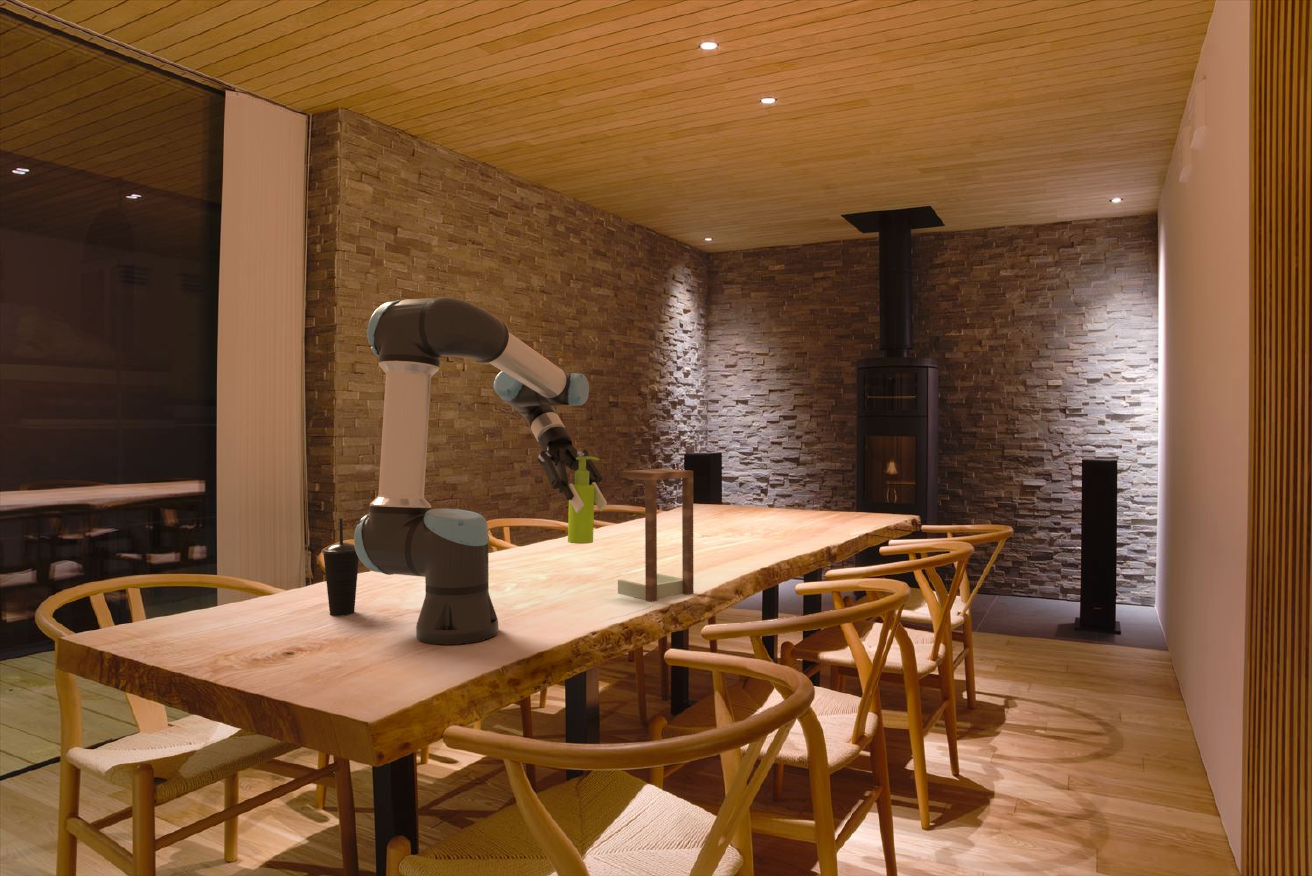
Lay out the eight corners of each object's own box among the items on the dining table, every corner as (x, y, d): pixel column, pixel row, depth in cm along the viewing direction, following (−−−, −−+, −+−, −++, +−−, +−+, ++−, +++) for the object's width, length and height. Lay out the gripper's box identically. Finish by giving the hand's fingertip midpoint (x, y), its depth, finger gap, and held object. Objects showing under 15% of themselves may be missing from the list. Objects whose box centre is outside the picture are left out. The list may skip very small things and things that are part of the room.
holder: (646, 600, 189) (646, 586, 189) (617, 593, 197) (617, 580, 197) (687, 592, 197) (687, 579, 197) (658, 585, 205) (658, 573, 205)
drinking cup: (348, 618, 173) (347, 521, 172) (315, 616, 175) (313, 520, 174) (368, 609, 181) (367, 516, 180) (336, 608, 182) (334, 515, 182)
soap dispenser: (596, 544, 194) (598, 457, 194) (566, 543, 194) (568, 456, 194) (598, 541, 200) (600, 456, 200) (569, 540, 200) (571, 455, 200)
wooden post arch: (650, 601, 187) (650, 473, 187) (620, 594, 195) (620, 471, 195) (693, 593, 196) (693, 470, 195) (662, 586, 204) (662, 468, 203)
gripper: (577, 445, 214) (617, 515, 202) (512, 447, 202) (551, 521, 190) (589, 424, 210) (631, 494, 198) (524, 425, 198) (564, 499, 186)
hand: (591, 507), depth 194 cm, fingers closed on soap dispenser, 6 cm apart
